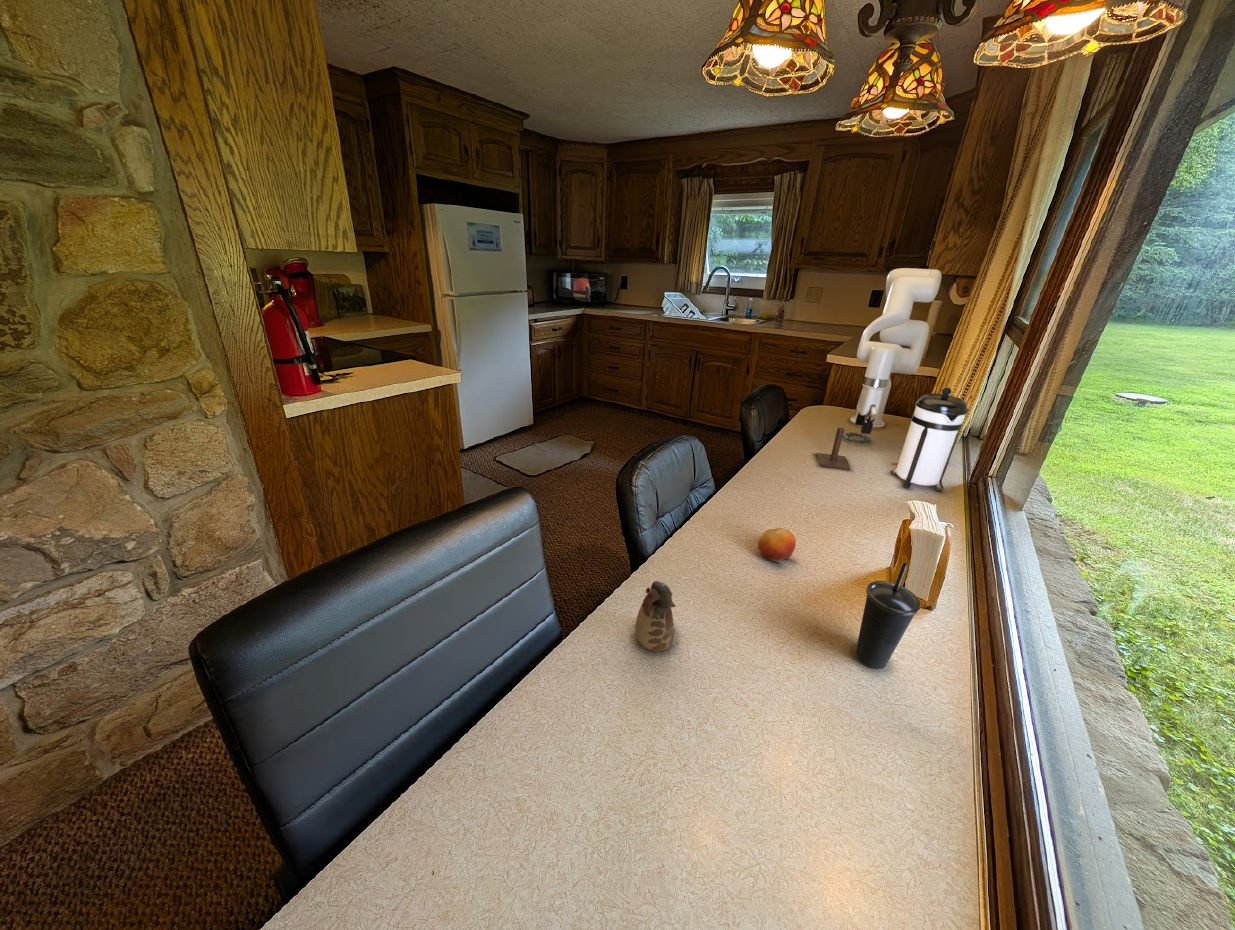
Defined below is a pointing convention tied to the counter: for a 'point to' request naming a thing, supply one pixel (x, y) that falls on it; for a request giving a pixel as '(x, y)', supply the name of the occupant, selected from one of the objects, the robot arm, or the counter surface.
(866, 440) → the ring
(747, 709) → the counter surface
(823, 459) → the brown peg stand
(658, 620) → the figurine
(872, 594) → the drinking cup
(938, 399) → the coffee press
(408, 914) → the counter surface
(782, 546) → the fruit
